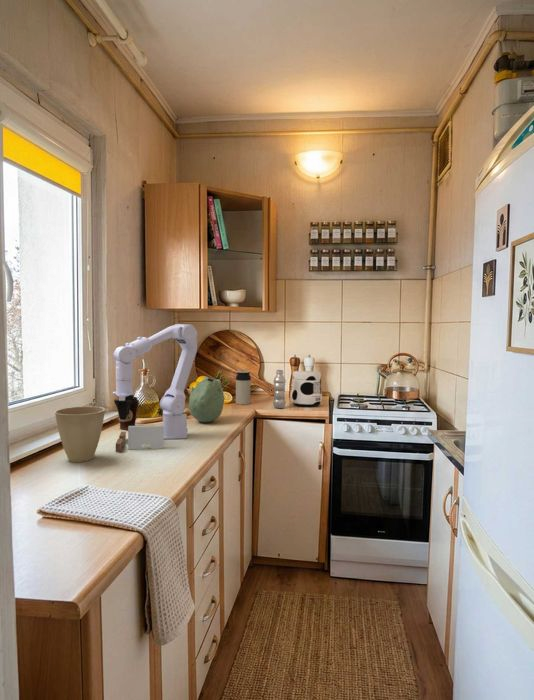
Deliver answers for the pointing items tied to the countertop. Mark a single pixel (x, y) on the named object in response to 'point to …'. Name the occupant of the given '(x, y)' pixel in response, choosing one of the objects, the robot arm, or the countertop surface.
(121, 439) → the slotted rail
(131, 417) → the coffee cup
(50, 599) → the countertop surface
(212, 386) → the green faceted ovoid
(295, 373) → the milk container
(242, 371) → the travel mug
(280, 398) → the plastic bottle
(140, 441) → the grey arch block
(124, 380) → the robot arm
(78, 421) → the plant pot
